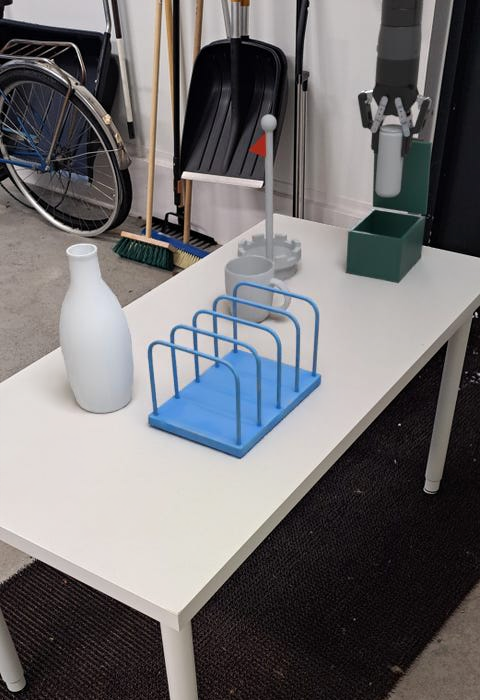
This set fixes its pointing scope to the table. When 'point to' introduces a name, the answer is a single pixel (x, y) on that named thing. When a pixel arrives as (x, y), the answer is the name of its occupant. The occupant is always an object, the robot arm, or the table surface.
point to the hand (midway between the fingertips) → (390, 153)
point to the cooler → (385, 245)
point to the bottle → (95, 337)
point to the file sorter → (234, 384)
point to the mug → (258, 273)
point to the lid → (409, 181)
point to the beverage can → (389, 160)
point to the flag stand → (271, 216)
